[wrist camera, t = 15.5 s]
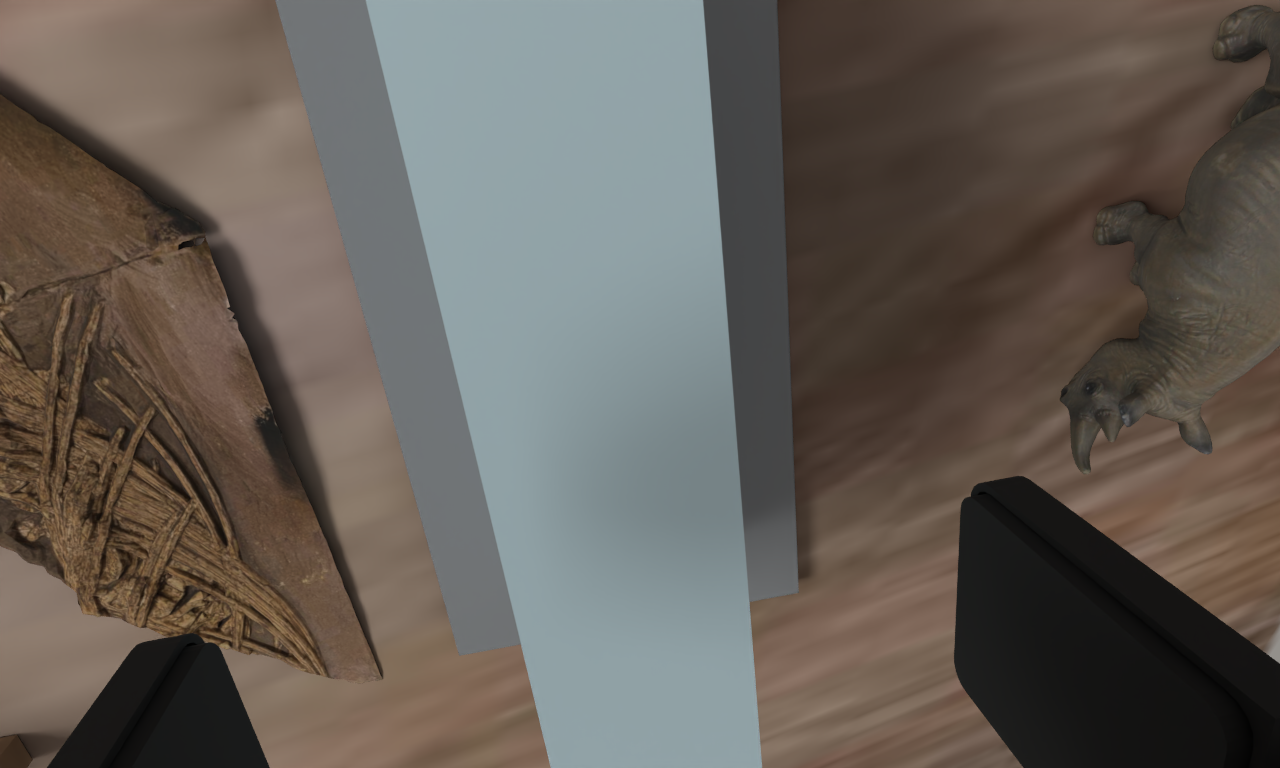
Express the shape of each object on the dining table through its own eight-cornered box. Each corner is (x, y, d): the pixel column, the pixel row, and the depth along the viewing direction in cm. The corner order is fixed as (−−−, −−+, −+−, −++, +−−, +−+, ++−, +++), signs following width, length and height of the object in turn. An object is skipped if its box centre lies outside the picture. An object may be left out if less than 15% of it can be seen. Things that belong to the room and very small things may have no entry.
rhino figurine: (969, 410, 25) (1091, 505, 20) (1220, -14, 21) (1469, -45, 15) (1063, 443, 26) (1204, 542, 21) (1320, 47, 22) (1587, 39, 16)
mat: (759, -248, 17) (767, -259, 17) (793, 581, 27) (798, 592, 26) (228, -197, 16) (217, -206, 16) (460, 643, 26) (459, 655, 25)
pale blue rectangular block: (614, -79, 18) (686, -211, 9) (686, 544, 25) (763, 779, 17) (423, -56, 17) (324, -171, 9) (553, 568, 24) (563, 820, 16)
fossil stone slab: (-538, -3, 16) (-606, -7, 15) (-88, -221, 16) (-128, -240, 15) (205, 745, 27) (193, 770, 26) (482, 624, 26) (481, 645, 25)
